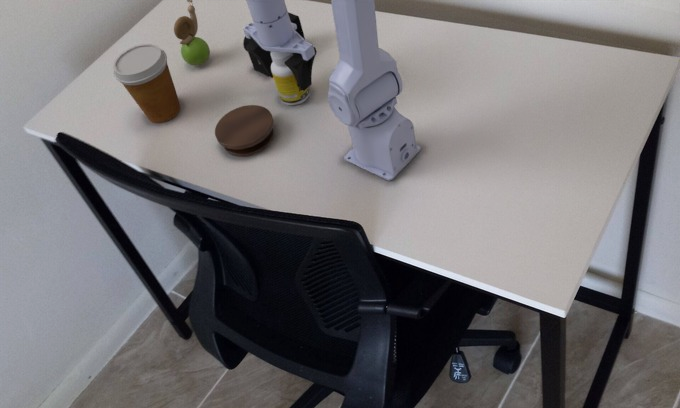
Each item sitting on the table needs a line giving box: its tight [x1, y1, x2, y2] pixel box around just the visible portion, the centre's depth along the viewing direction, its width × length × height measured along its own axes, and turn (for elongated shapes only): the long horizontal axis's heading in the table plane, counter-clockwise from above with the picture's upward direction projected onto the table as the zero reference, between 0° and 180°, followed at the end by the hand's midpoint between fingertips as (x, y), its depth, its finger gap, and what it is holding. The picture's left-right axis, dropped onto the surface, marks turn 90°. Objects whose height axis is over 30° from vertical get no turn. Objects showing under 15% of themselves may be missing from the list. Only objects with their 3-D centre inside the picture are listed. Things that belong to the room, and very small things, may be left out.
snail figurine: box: [173, 0, 211, 67], centre depth 128 cm, size 5×6×12 cm
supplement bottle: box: [271, 51, 311, 106], centre depth 116 cm, size 5×5×10 cm
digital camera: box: [242, 11, 306, 78], centre depth 126 cm, size 10×5×7 cm, turn 136°
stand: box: [214, 104, 275, 158], centre depth 113 cm, size 10×10×3 cm
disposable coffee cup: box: [112, 43, 182, 124], centre depth 120 cm, size 10×10×12 cm
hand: (290, 80), depth 117 cm, fingers open, 7 cm apart
